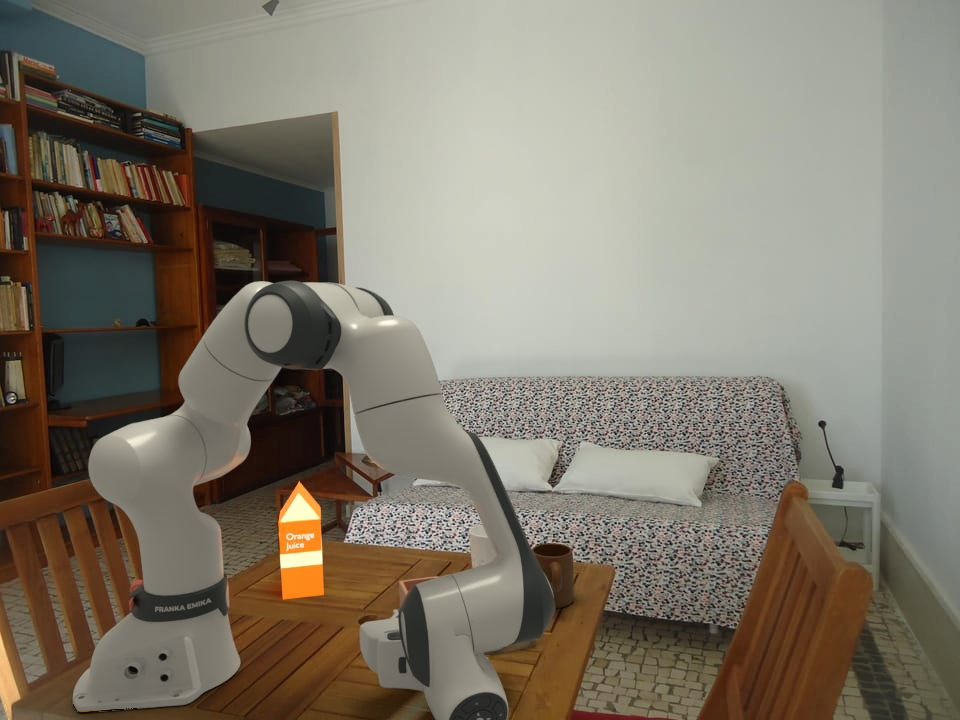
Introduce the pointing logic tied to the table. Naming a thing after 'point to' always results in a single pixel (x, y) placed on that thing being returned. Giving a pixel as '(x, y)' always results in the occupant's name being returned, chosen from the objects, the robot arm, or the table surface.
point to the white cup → (480, 546)
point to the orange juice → (301, 546)
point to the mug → (557, 570)
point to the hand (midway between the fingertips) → (422, 610)
